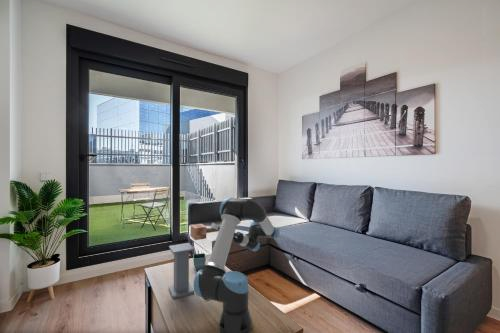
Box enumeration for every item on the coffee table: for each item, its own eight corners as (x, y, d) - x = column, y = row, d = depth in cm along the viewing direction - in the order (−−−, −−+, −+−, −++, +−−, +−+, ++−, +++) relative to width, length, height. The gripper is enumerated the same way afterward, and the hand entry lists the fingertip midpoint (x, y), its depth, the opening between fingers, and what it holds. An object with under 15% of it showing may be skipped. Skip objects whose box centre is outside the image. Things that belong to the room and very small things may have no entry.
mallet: (224, 231, 156) (224, 220, 156) (230, 234, 148) (230, 223, 148) (190, 236, 144) (190, 225, 144) (195, 240, 136) (195, 228, 136)
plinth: (188, 284, 144) (188, 242, 144) (194, 293, 134) (194, 248, 134) (168, 289, 138) (168, 245, 138) (172, 299, 128) (173, 252, 128)
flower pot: (193, 271, 162) (193, 258, 162) (192, 266, 170) (192, 254, 170) (205, 270, 164) (205, 257, 164) (204, 265, 172) (205, 253, 173)
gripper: (243, 247, 149) (214, 233, 139) (233, 240, 163) (205, 227, 152) (248, 236, 151) (220, 222, 141) (237, 231, 164) (211, 217, 154)
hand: (212, 225), depth 147 cm, fingers closed on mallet, 2 cm apart
